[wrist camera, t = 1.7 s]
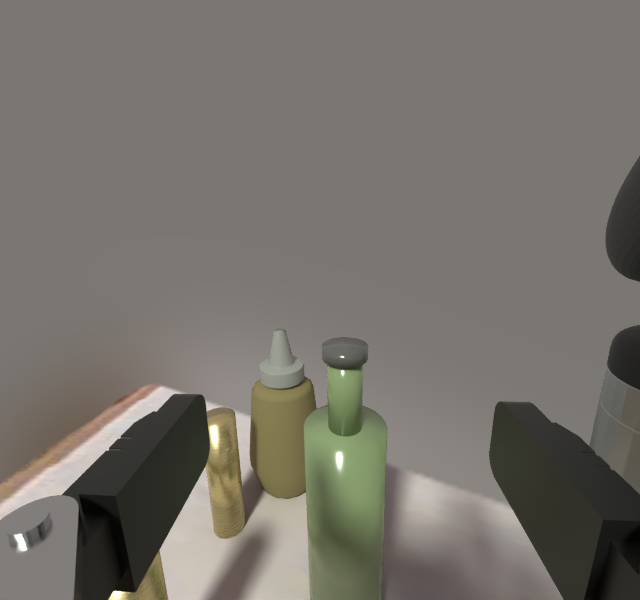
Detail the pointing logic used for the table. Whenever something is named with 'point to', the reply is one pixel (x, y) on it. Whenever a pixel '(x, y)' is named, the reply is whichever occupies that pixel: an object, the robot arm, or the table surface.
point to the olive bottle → (345, 482)
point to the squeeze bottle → (280, 420)
